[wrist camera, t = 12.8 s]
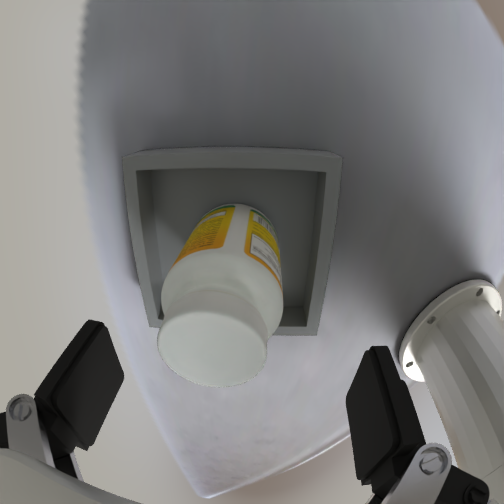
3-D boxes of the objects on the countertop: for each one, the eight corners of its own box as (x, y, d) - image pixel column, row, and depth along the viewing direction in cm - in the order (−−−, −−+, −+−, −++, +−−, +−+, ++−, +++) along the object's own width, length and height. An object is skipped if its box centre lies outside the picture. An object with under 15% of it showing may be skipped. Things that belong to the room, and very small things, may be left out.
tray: (329, 151, 16) (342, 158, 13) (311, 308, 21) (316, 335, 19) (142, 150, 16) (121, 157, 14) (161, 302, 22) (149, 326, 19)
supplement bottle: (288, 212, 17) (311, 314, 9) (265, 285, 20) (265, 406, 11) (200, 192, 17) (139, 276, 8) (188, 268, 19) (141, 379, 11)
